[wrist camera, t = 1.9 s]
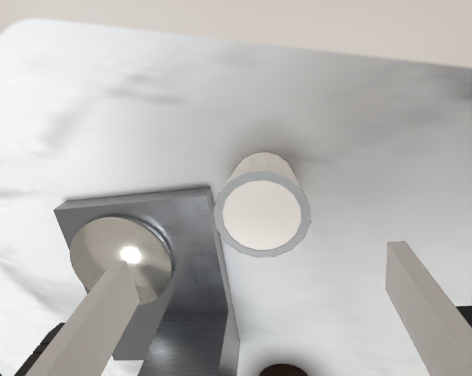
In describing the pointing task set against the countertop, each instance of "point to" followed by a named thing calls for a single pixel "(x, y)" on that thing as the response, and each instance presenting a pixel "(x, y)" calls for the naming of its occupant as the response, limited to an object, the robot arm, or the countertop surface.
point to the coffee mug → (282, 371)
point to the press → (161, 277)
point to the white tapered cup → (262, 207)
